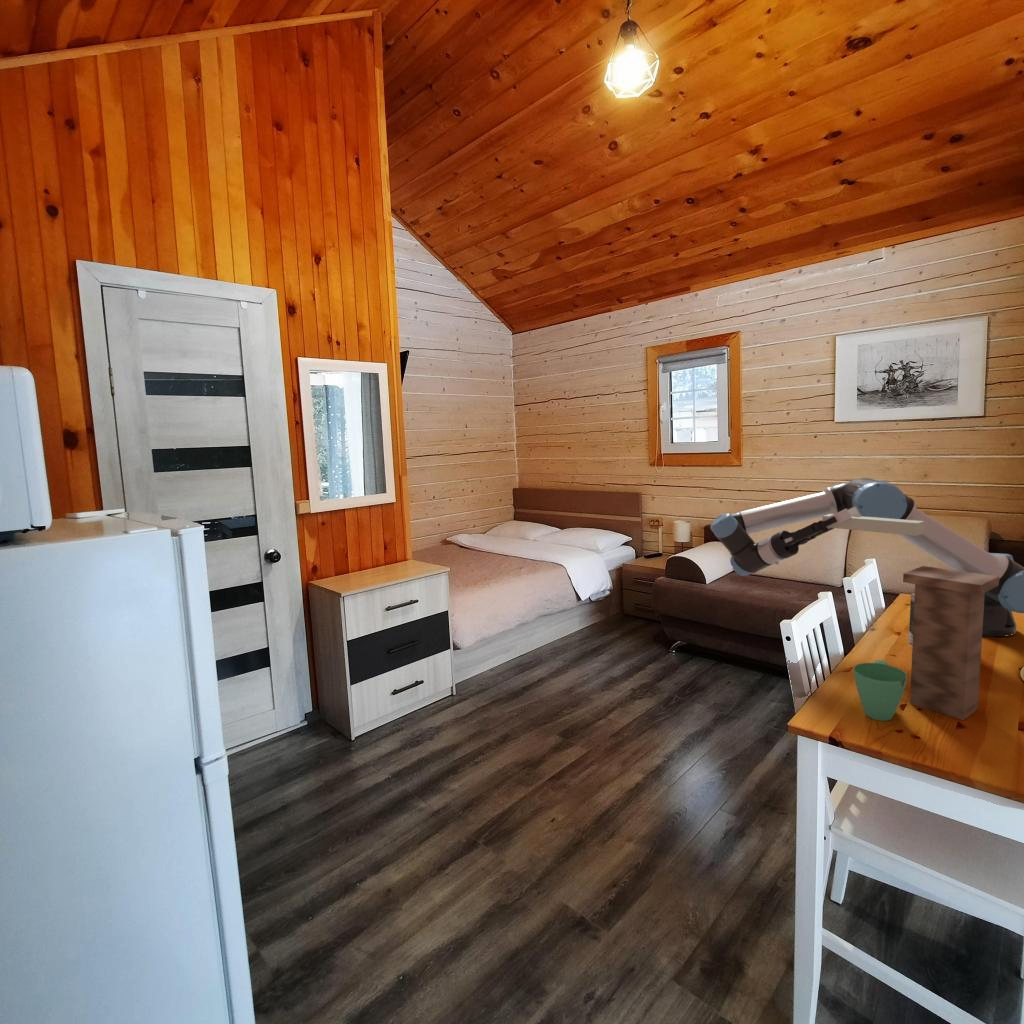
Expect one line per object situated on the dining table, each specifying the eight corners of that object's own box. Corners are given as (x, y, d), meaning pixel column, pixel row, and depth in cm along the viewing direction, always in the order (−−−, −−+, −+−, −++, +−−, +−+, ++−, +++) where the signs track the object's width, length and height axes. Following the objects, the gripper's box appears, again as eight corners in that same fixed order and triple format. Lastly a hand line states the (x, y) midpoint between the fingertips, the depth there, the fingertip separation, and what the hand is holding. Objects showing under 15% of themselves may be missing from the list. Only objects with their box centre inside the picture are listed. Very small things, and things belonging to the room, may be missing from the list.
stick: (822, 526, 153) (822, 515, 153) (830, 524, 156) (830, 514, 155) (916, 535, 135) (917, 523, 135) (924, 533, 137) (924, 521, 137)
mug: (906, 730, 119) (908, 684, 118) (851, 720, 124) (852, 675, 123) (904, 701, 131) (906, 659, 130) (854, 693, 137) (855, 652, 135)
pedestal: (898, 701, 131) (903, 573, 127) (917, 689, 137) (923, 565, 133) (972, 725, 120) (981, 585, 116) (990, 710, 125) (999, 576, 121)
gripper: (801, 554, 170) (876, 521, 152) (767, 564, 161) (843, 530, 142) (789, 531, 172) (861, 495, 154) (755, 539, 163) (828, 503, 145)
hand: (853, 512), depth 148 cm, fingers closed on stick, 4 cm apart
